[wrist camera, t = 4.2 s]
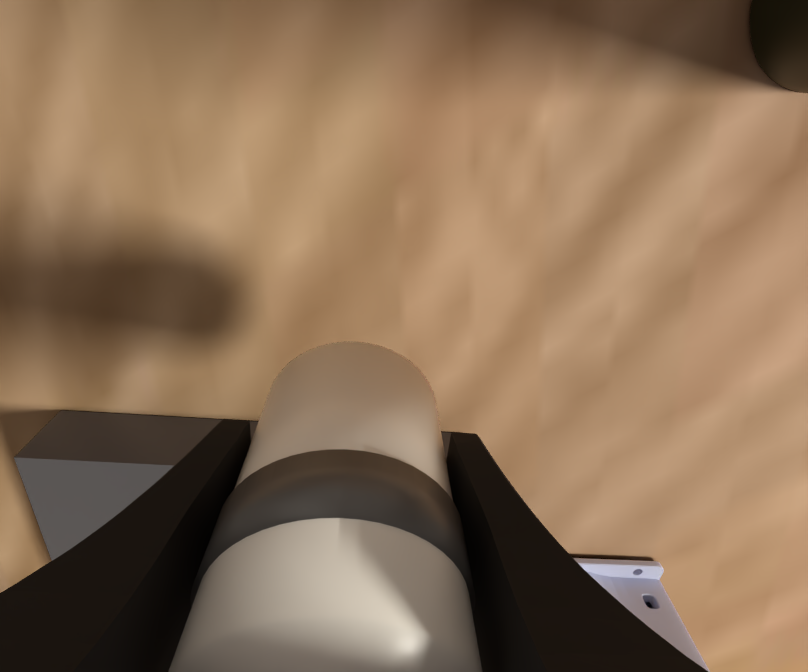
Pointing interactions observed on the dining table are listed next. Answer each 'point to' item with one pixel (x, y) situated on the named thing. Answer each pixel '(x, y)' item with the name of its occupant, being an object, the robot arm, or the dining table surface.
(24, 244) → the dining table surface
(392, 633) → the lens
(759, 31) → the wine bottle
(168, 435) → the camera body
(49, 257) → the dining table surface
